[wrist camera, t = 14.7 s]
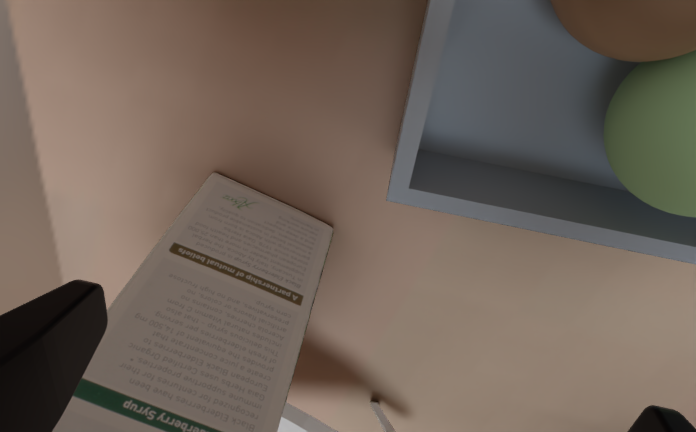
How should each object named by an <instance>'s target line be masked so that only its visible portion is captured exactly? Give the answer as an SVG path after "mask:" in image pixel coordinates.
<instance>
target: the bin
mask: <svg viewBox="0 0 696 432" xmlns="http://www.w3.org/2000/svg"><path fill="white" fill-rule="evenodd" d="M640 63H641V62H631V61H623V60H618V59H614V58H610V57H606V56H603V55H601V54H598V53H596V52H594V51H592V50H590V49H589V48H587V47H585V46H584V45H582V44H581V43H579V42H578V41H577V40H576V39H575V38H574V37H572V36H571V35H570V34H569V32H568V31H567V30H566V29H565V28H564V27H563V25H562V23H561V22H560V20H559V18H558V17H557V15H556V13H555V11H554V9H553V6H552V4H551V2H550V0H428V3H427V7H426V12H425V16H424V21H423V26H422V30H421V35H420V39H419V44H418V48H417V53H416V57H415V62H414V67H413V71H412V76H411V80H410V85H409V89H408V94H407V98H406V103H405V108H404V112H403V117H402V121H401V126H400V130H399V135H398V140H397V144H396V149H395V153H394V159H393V165H392V170H391V176H390V182H389V188H388V193H387V199H386V201H391V202H396V203H400V204H405V205H410V206H415V207H420V208H425V209H430V210H434V211H439V212H444V213H449V214H454V215H459V216H464V217H468V218H473V219H478V220H483V221H488V222H493V223H498V224H502V225H507V226H512V227H517V228H522V229H527V230H532V231H536V232H541V233H546V234H551V235H556V236H561V237H565V238H570V239H575V240H580V241H585V242H590V243H595V244H599V245H604V246H609V247H614V248H619V249H624V250H629V251H633V252H638V253H643V254H648V255H653V256H658V257H663V258H667V259H672V260H677V261H682V262H687V263H692V264H696V217H687V216H681V215H676V214H672V213H668V212H665V211H662V210H660V209H657V208H655V207H652V206H650V205H649V204H647V203H645V202H643V201H642V200H640V199H639V198H637V197H636V196H635V195H633V194H632V193H631V192H630V191H629V190H628V189H627V188H626V187H625V186H624V185H623V184H622V183H621V182H620V181H619V179H618V178H617V176H616V175H615V173H614V172H613V170H612V168H611V166H610V164H609V161H608V159H607V155H606V151H605V146H604V137H603V134H604V121H605V117H606V112H607V109H608V107H609V104H610V101H611V100H612V98H613V96H614V94H615V92H616V90H617V89H618V87H619V86H620V84H621V83H622V81H623V80H624V79H625V78H626V76H627V75H628V74H629V73H630V72H631V71H632V70H633V69H634V68H635V67H636V66H637V65H638V64H640Z"/></svg>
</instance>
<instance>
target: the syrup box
mask: <svg viewBox="0 0 696 432" xmlns="http://www.w3.org/2000/svg"><path fill="white" fill-rule="evenodd" d="M332 236H333V228H332V227H331V226H329V225H327V224H326V223H324V222H322V221H319V220H317V219H315V218H314V217H312V216H309V215H307V214H305V213H304V212H302V211H299V210H297V209H295V208H293V207H291V206H289V205H286V204H284V203H282V202H280V201H278V200H276V199H273V198H271V197H269V196H267V195H265V194H262V193H260V192H258V191H256V190H254V189H251V188H249V187H247V186H245V185H242V184H240V183H238V182H236V181H234V180H231V179H229V178H227V177H224V176H222V175H220V174H218V173H212V174H211V175H210V176H209V177H208V178H207V180H206V181H205V182H204V184H203V185H202V186H201V188H200V189H199V190H198V192H197V193H196V194H195V195H194V196H193V198H192V199H191V200H190V202H189V203H188V204H187V205H186V206H185V208H184V209H183V210H182V211H181V213H180V214H179V215H178V217H177V218H176V219H175V221H174V222H173V223H172V225H171V226H170V227H169V228H168V230H167V231H166V232H165V234H164V235H163V236H162V238H161V239H160V240H159V242H158V243H157V244H156V246H155V247H154V248H153V249H152V251H151V252H150V253H149V255H148V256H147V257H146V259H145V260H144V261H143V263H142V264H141V265H140V267H139V268H138V269H137V271H136V272H135V274H134V275H133V276H132V278H131V279H130V280H129V282H128V283H127V284H126V286H125V287H124V288H123V290H122V291H121V292H120V293H119V295H118V296H117V297H116V299H115V300H114V301H113V303H112V304H111V305H110V307H109V308H108V309H107V316H108V324H107V328H106V331H105V334H104V336H103V338H102V340H101V341H100V343H99V345H98V347H97V349H96V351H95V353H94V355H93V357H92V359H91V361H90V363H89V365H88V367H87V369H86V371H85V373H84V375H83V377H82V379H81V381H80V382H79V384H78V386H77V388H76V390H75V392H74V394H73V396H72V398H71V400H70V402H69V404H68V406H67V407H66V409H65V411H64V413H63V415H62V416H61V418H60V420H59V421H58V423H57V425H56V426H55V428H54V429H53V431H52V432H277V431H278V427H279V424H280V420H281V417H282V413H283V410H284V406H285V403H286V400H287V396H288V392H289V389H290V385H291V381H292V378H293V375H294V371H295V367H296V364H297V361H298V358H299V354H300V349H301V346H302V343H303V339H304V335H305V332H306V328H307V325H308V321H309V318H310V313H311V310H312V306H313V303H314V299H315V296H316V292H317V289H318V286H319V282H320V279H321V275H322V272H323V268H324V264H325V260H326V257H327V254H328V250H329V247H330V243H331V239H332Z"/></svg>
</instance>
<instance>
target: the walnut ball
mask: <svg viewBox="0 0 696 432" xmlns="http://www.w3.org/2000/svg"><path fill="white" fill-rule="evenodd" d="M550 2H551V4H552V6H553V9H554V11H555V13H556V15H557V17H558V18H559V20H560V22H561V23H562V25H563V27H564V28H565V29H566V30H567V31H568V32H569V34H570V35H571V36H572V37H574V38H575V39H576V40H577V41H578V42H579V43H581V44H582V45H584V46H585V47H587V48H589V49H590V50H592V51H594V52H596V53H598V54H601V55H603V56H606V57H610V58H614V59H618V60H623V61H631V62H649V61H657V60H665V59H670V58H674V57H678V56H681V55H684V54H687V53H690V52H692V51H695V50H696V0H550Z"/></svg>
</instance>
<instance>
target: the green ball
mask: <svg viewBox="0 0 696 432" xmlns="http://www.w3.org/2000/svg"><path fill="white" fill-rule="evenodd" d="M603 137H604V146H605V151H606V155H607V159H608V161H609V164H610V166H611V168H612V170H613V172H614V173H615V175H616V176H617V178H618V179H619V181H620V182H621V183H622V184H623V185H624V186H625V187H626V188H627V189H628V190H629V191H630V192H631V193H632V194H633V195H635V196H636V197H637V198H639V199H640V200H642V201H643V202H645V203H647V204H649V205H650V206H652V207H655V208H657V209H660V210H662V211H665V212H668V213H672V214H676V215H681V216H687V217H696V50H695V51H692V52H690V53H687V54H684V55H681V56H678V57H674V58H670V59H665V60H657V61H649V62H641V63H640V64H638V65H637V66H636V67H635V68H634V69H633V70H632V71H631V72H630V73H629V74H628V75H627V76H626V78H625V79H624V80H623V81H622V83H621V84H620V86H619V87H618V89H617V90H616V92H615V94H614V96H613V98H612V100H611V101H610V104H609V107H608V109H607V112H606V117H605V121H604V134H603Z"/></svg>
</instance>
